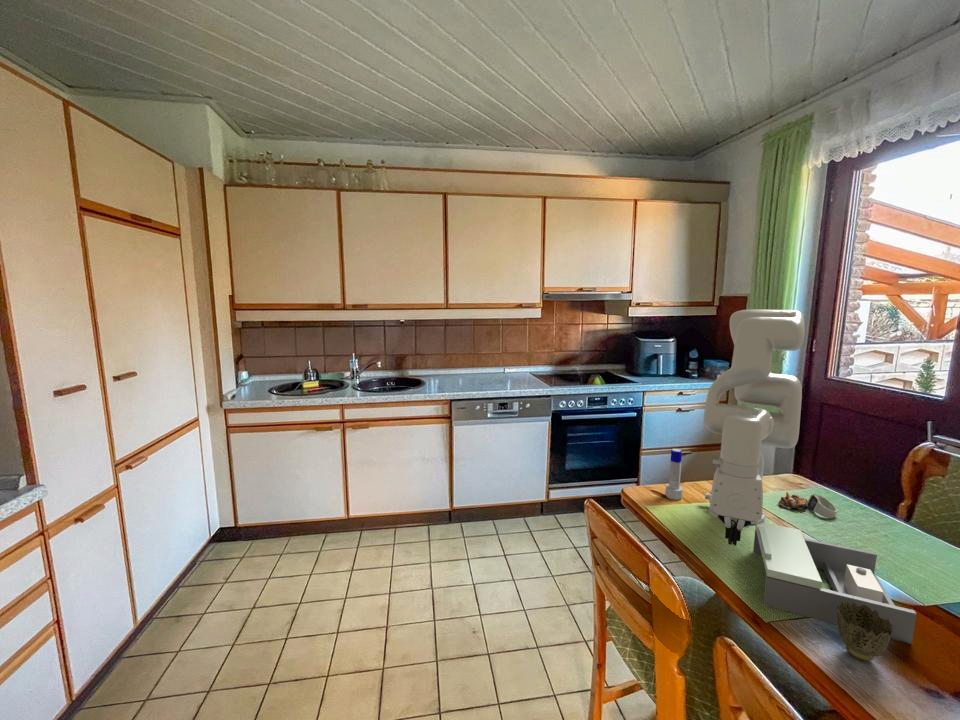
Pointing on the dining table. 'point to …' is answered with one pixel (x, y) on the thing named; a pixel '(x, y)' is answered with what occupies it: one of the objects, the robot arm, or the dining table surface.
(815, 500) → the wristwatch
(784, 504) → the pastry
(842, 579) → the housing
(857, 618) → the cup
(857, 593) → the white block with knob
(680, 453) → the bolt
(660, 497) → the dining table surface
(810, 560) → the lid
